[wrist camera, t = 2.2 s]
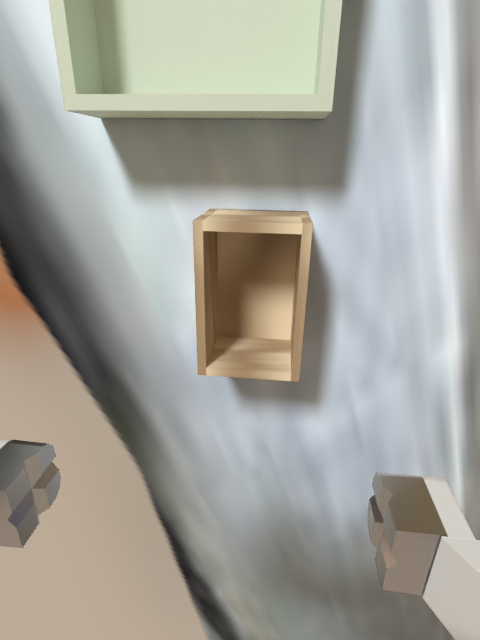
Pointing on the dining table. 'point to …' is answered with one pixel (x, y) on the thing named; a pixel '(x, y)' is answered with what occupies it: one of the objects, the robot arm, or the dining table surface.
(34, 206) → the dining table surface
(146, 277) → the dining table surface
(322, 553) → the dining table surface
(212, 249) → the pine crate
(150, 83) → the sage crate
